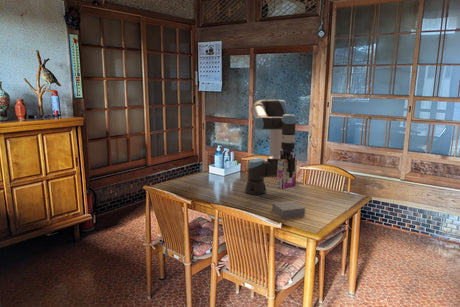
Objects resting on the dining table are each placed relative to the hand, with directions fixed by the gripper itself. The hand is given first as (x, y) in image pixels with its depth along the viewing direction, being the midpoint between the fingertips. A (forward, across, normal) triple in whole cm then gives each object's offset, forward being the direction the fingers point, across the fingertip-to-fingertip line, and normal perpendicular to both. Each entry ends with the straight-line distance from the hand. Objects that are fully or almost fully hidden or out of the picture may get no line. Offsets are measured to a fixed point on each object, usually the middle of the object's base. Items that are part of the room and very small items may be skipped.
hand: (286, 181), depth 203 cm
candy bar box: (+4, 0, 0) cm, 4 cm away
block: (+20, 0, +2) cm, 20 cm away
